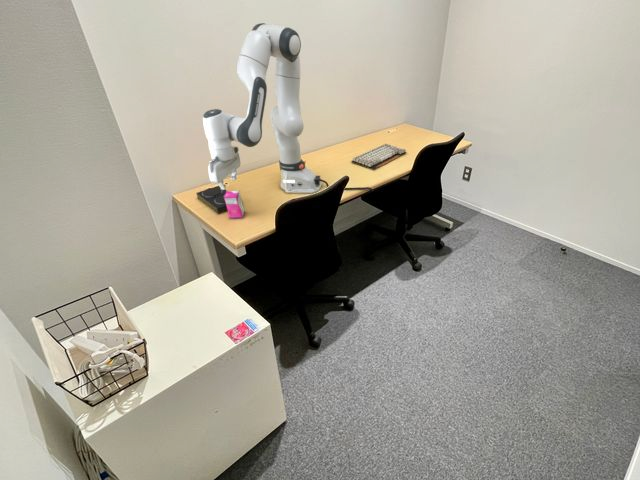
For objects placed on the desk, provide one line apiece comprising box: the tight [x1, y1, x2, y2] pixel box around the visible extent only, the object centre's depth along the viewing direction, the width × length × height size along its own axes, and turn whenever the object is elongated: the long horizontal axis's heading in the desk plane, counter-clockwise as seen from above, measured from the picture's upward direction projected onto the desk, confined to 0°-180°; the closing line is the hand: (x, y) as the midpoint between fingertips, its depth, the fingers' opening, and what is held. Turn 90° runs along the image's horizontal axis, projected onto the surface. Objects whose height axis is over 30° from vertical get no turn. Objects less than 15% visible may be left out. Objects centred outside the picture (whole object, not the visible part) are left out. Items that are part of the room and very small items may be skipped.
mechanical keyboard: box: [351, 143, 407, 171], centre depth 213 cm, size 38×19×3 cm, turn 141°
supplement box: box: [224, 190, 246, 219], centre depth 150 cm, size 6×6×12 cm
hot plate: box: [195, 185, 228, 215], centre depth 163 cm, size 22×13×4 cm, turn 45°
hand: (229, 184), depth 144 cm, fingers open, 8 cm apart
